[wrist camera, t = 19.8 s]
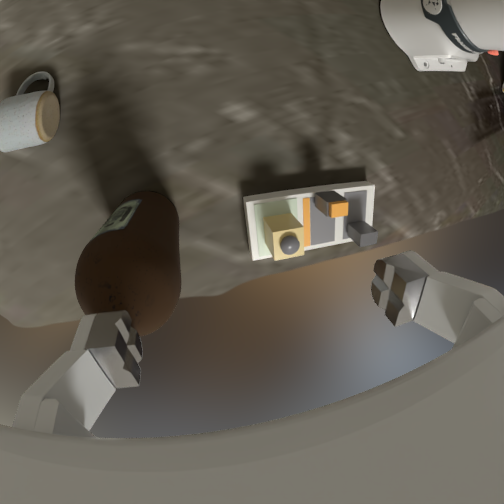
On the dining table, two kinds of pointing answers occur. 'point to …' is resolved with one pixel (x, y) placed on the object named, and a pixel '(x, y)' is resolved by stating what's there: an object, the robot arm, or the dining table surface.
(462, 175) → the dining table surface
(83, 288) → the olive oil
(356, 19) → the dining table surface
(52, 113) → the ceramic mug
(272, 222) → the tan block with knob
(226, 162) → the dining table surface
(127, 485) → the robot arm
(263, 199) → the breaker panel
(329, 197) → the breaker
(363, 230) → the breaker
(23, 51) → the dining table surface
